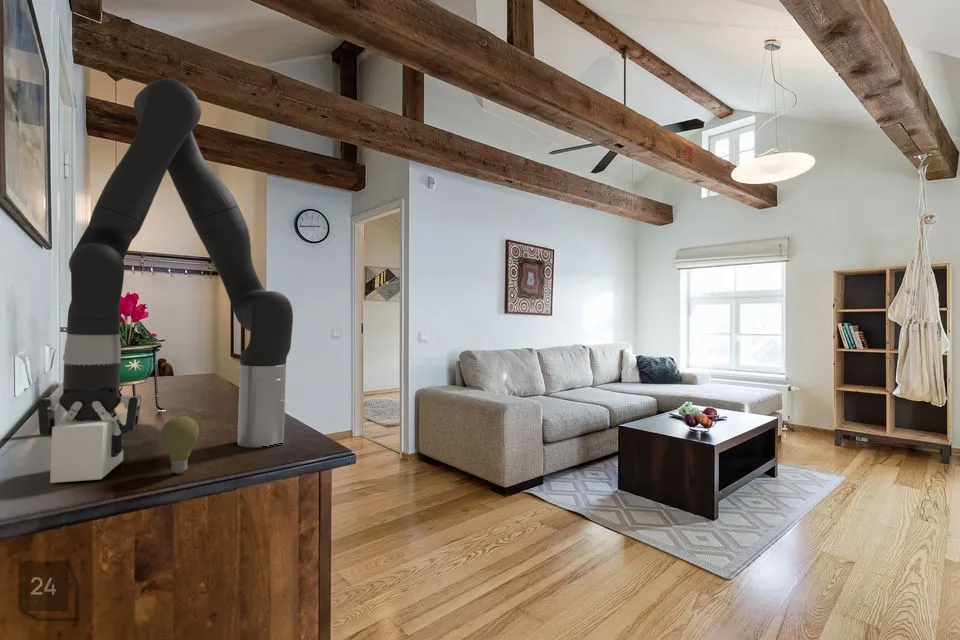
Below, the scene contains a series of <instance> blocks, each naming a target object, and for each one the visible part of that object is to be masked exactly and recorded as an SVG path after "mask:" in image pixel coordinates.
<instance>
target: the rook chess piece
mask: <svg viewBox="0 0 960 640" xmlns="http://www.w3.org/2000/svg"><path fill="white" fill-rule="evenodd" d="M55 398H59V396H58V397H55ZM54 412H55V426H56V425H58V424H60V423H61V421H62V420H63V419H64V417H65V416H66V414H67V413H68V412H67V411H66V410H65V409H64V408H63V407H62V406H61V404H59V405H58V408H57V409H56V410H54Z"/></svg>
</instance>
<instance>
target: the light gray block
mask: <svg viewBox="0 0 960 640" xmlns="http://www.w3.org/2000/svg"><path fill="white" fill-rule="evenodd" d="M117 414H118V415H119V417H120V420H121V422H122V423H123V425H125V422H126V421H125V420H126V419H125V418H126V415H125V414H126V412H117ZM112 415H113V414H112ZM106 418H107V417H106ZM112 436H113V433H112V423H111V421H103V420H102V419H101V420H89V419H88V420H84V421H77V420H75V419H74V420H73V421H72V422H64V423H61V424H58V425H56V426H54V427H52V436H51V450H50V451H51V453H50V454H51V455H50V476H49V477H50V478H49V479H50V480H49V483H50V484H54V483H55V484H56V483H67V482H68V483H69V482H80V481H82V482H83V481H94V480H102V479H103V478H104V477H106V476H107V475H108V474H109V473H110V472H111V471H112V470H114V469H115V468H116V467H117V466H119V465H120V464H121V463H122V462H123V461H124V450H123V451H122V452H121V453H119V455H118V456H117V457H111V443H112Z"/></svg>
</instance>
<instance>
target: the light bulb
mask: <svg viewBox="0 0 960 640" xmlns="http://www.w3.org/2000/svg"><path fill="white" fill-rule="evenodd" d="M160 434H161V440H162V443H163V445H164V447H165V448H166V451H167V453H168V457H169V459H170V463H171V465H170V467H171V468H170V470H171V472H173V473H174V474H175V475H182V474H183V473H184V472H185V471H186V470H187V469H188V460H189V457H190V456H191V453H192V450H193V449H192V448H193V447H194V445H195V444H196V442H197V439H198V437H199V434H200V427H199V425H198V423H197V421H196V420H195V419H194V418H192V417H190V416H185V415H180V416H174V417H172V418H171V419H169V420H168V421H167V422H166V423H165V424H164V426H163V427H162V429H161V433H160Z"/></svg>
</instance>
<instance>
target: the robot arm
mask: <svg viewBox="0 0 960 640" xmlns="http://www.w3.org/2000/svg"><path fill="white" fill-rule="evenodd" d="M201 108H202V107H201V103H200V100H199V99H198V97H197V95H196V93H195V92H194V91H193V90H192V89H191V88H190V86H188V85H186V84H185V83H183V82H181V81H179V80H177V79H172V78H160V79H156V80H154V81H152V82H150V83H148V84H147V85H146V86H145V87H144V88H142V89H141V90H140V92H138V93H137V94H136V96H135V98H134V102H133V112H134V117H135V118H136V120H137V123H138V124H139V125H138V128H137V131H136V133H135V136H134V138H133V140H132V142H131V143H130V145H129V147H128V148H127V150H126V152H125V154H124V155H123V157H122V159H120V161H119V163H118V164H117V165H116V167H115V168H114V171H112V173H111V175H110V177H109V178H108V180H107V182H106V184H105V186H104V187H103V189H102V191H101V193H100V196H99V198H98V199H97V201H96V203H95V206H94V208H93V211H92V213H91V217H90V220H89V223H88V225H87V226H86V229H85V230H84V232H83V234H82V235H81V237H80V239H79V241H78V243H77V244H76V247H75V248H74V249H73V252H72V253H71V256H70V258H69V261H68V268H69V272H70V280H71V281H70V289H71V290H70V295H71V296H70V298H71V299H70V304H69V306H68V310H67V311H68V313H67V322H66V324H67V326H66V327H67V328H66V330H67V331H66V339H65V340H66V341H65V345H64V354H63V357H62V360H63V379H62V380H63V381H62V386H63V387H62V389H63V390H62V391H63V392H62V394H61V396H58V398H56V397H50V396H48V397H45V398H42V399H40V400H38V401H37V411H38V412H37V414H38V427H39V434H40V435H41V436H49V437H52V427H54V426H55V412H54V410H56V409H57V408H58V405H59V404H61V406H62V407H63V408H64V409H65V410H66V411H67V412H68V413H67V414H66V416H65V417H64V419H63V420H62V421H61V423H64V422H72V421H73V420H74V419H75V420H77V421H84V420H88V419H89V420H101V419H102V420H103V421H111V423H112V433H113V436H112V443H111V457H117V456H118V455H119V453H121V452H122V451H123V452H124V449H125V434H126V433H128V432H132V431H134V430H135V429H136V428H137V427H138V424H139V416H140V410H141V403H142V396H141V395H139V394H136V395H131V396H130V395H123V394H122V393H121V390H120V389H121V388H120V386H121V385H120V384H121V361H122V360H121V358H122V357H121V356H122V355H121V354H122V345H121V335H120V334H121V333H120V331H121V330H120V329H121V309H120V306H121V299H122V293H123V288H124V287H123V286H124V277H125V262H124V260H125V258H126V255H127V253H128V251H129V248H130V245H131V243H132V241H133V240H134V239H135V238H136V236H137V235H138V234H139V232H140V231H141V229H142V226H143V225H144V222H145V220H146V218H147V215H148V213H149V212H150V211H149V210H150V209H151V206H152V204H153V201H154V199H155V197H156V195H157V192H158V190H159V188H160V186H161V184H162V181H163V179H164V177H165V174H166V172H167V173H168V174H169V176H170V179H171V181H172V183H173V185H174V187H175V189H176V191H177V194H178V196H179V198H180V200H181V202H182V205H183V206H184V208H185V211H186V212H187V215H188V217H189V219H190V220H191V223H192V226H193V227H194V229H195V231H196V233H197V235H198V237H199V239H200V241H201V243H202V244H203V246H204V248H205V250H206V251H207V254H208V256H209V258H210V260H211V262H212V264H213V266H214V268H215V270H216V271H217V274H218V275H219V277H220V280H221V281H222V284H223V287H224V289H225V291H226V292H225V293H226V294H227V297H228V299H229V302H230V305H231V307H232V310H233V313H234V316H235V317H236V320H237V322H238V323H239V324H240V326H241V327H243V328H244V329H245V330H246V331H249V333H250V334H249V341H248V344H247V347H245V348H244V349H242V351H241V353H240V359H239V361H240V362H239V384H238V385H239V387H238V390H239V391H238V414H237V416H238V417H237V418H238V419H237V445H238V447H244V448H263V447H262V446H267V447H270V446H269V445H273V444H277V443H283V444H284V442H283V441H284V440H285V413H286V411H285V410H286V380H287V379H286V378H287V357H288V355H289V353H290V351H291V348H292V347H291V346H292V335H293V334H292V333H293V325H294V324H293V323H294V320H293V319H294V314H293V313H294V312H293V306H292V304H291V301H290V300H289V298H288V297H287V296H286V295H285V294H283V293H281V292H278V291H275V290H274V291H271V290H268V291H267V290H266V289H265V288H264V287H263V285H262V283H261V280H260V279H259V277H258V275H257V273H256V270H255V267H254V264H253V258H252V249H251V248H252V246H251V236H250V231H249V228H248V225H247V223H246V219H245V217H244V215H243V213H242V211H241V208H240V207H239V205H238V202H237V200H236V199H235V197H234V195H233V194H232V193H231V191H230V190H229V188H228V187H227V186H226V184H224V182H223V181H222V180H221V178H219V177H218V176H217V174H216V173H215V172H214V171H213V170H212V168H211V167H210V166H209V164H208V163H207V161H206V160H205V158H204V156H203V155H202V151H201V150H200V147H199V145H198V143H197V140H196V138H195V136H194V133H193V130H194V129H195V128H196V127H197V125H198V123H199V122H200V120H201V119H200V118H201V114H202V110H201ZM120 403H122V404H123V407H124V409H127V413H126V417H125V418H126V419H125V420H126V421H125V423H124V425H123V423H122V422H121V420H120V417H119V415H118V414H117V413H118V412H117V411H116V408H117V407H118V406H119V405H120ZM112 414H113V415H112ZM106 417H107V418H106ZM61 423H60V424H61ZM277 445H278V444H277ZM273 446H274V445H273Z"/></svg>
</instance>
